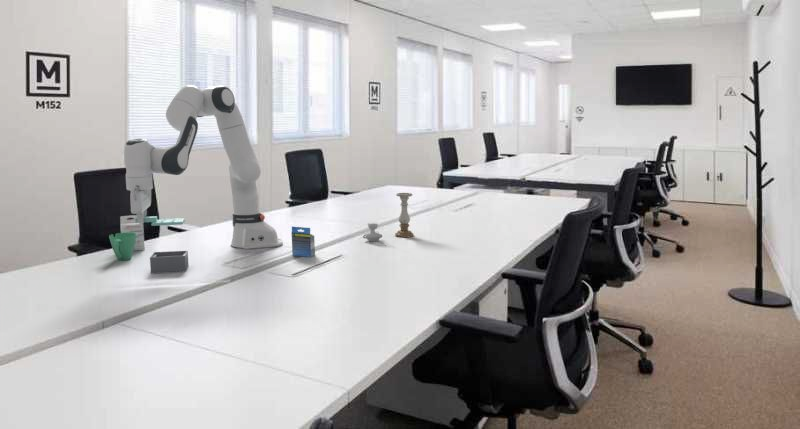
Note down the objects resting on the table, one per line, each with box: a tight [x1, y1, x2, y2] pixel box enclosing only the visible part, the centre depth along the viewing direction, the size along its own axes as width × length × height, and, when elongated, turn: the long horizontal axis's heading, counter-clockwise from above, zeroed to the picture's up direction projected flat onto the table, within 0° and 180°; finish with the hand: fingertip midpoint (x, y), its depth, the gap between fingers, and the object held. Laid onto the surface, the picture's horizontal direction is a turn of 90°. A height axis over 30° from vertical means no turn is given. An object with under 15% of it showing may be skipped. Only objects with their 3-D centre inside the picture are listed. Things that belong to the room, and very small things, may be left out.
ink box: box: [119, 214, 146, 252], centre depth 266 cm, size 8×5×15 cm, turn 123°
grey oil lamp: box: [362, 222, 383, 243], centre depth 285 cm, size 9×7×8 cm
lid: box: [135, 215, 186, 227], centre depth 228 cm, size 16×8×3 cm, turn 103°
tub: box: [149, 250, 189, 274], centre depth 230 cm, size 12×9×7 cm
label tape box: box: [291, 226, 316, 258], centre depth 256 cm, size 9×4×12 cm, turn 71°
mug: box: [108, 232, 136, 262], centre depth 247 cm, size 15×10×10 cm
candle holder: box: [394, 192, 414, 238], centre depth 297 cm, size 9×9×20 cm
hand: (142, 222), depth 226 cm, fingers closed on lid, 3 cm apart
